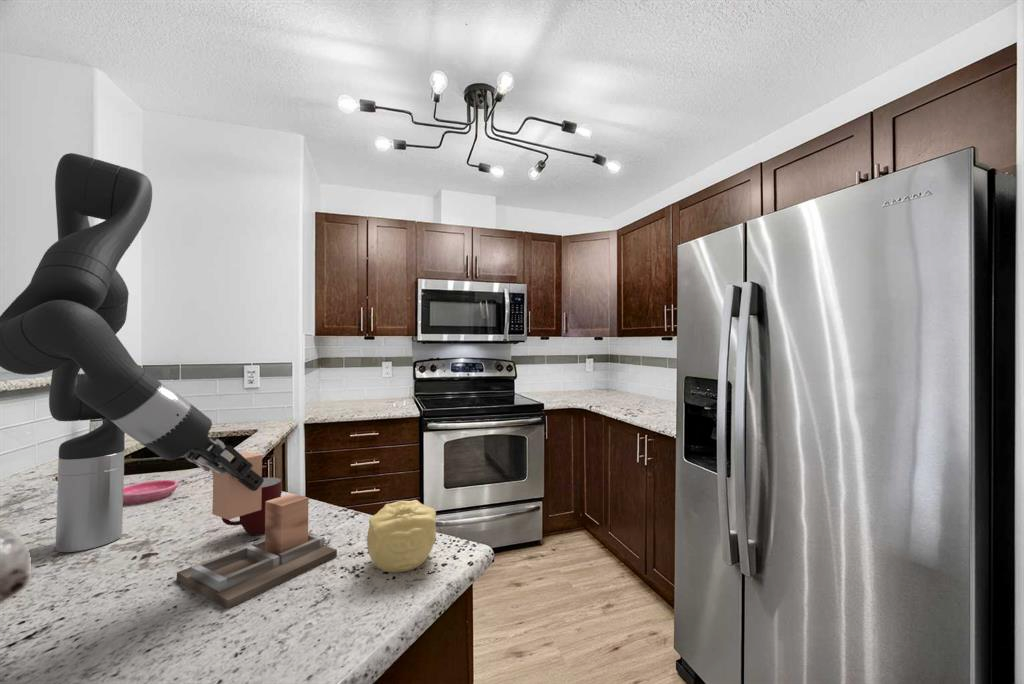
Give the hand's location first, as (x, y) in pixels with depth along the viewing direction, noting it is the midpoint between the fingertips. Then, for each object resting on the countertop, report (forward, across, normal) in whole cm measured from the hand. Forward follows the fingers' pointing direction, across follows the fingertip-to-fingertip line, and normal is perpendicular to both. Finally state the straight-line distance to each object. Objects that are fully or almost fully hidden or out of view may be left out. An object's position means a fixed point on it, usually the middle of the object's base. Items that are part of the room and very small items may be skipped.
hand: (249, 483), depth 70 cm
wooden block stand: (+12, 0, +9) cm, 15 cm away
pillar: (+2, 0, +4) cm, 5 cm away
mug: (+17, +16, +4) cm, 24 cm away
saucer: (+16, +64, +5) cm, 66 cm away
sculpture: (+21, -20, 0) cm, 29 cm away
